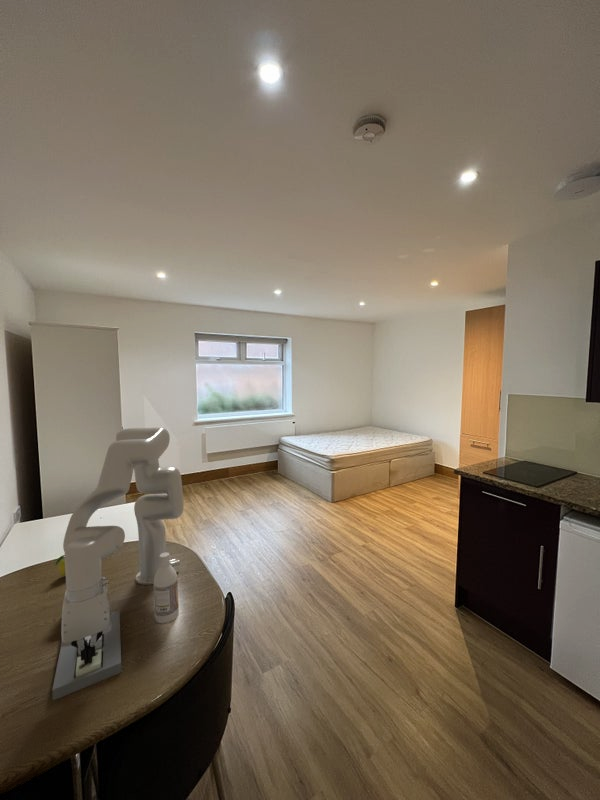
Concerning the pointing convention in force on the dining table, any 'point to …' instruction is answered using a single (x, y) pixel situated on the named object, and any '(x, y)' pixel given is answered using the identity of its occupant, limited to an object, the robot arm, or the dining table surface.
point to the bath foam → (165, 591)
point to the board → (111, 666)
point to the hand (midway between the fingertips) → (88, 660)
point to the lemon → (61, 566)
